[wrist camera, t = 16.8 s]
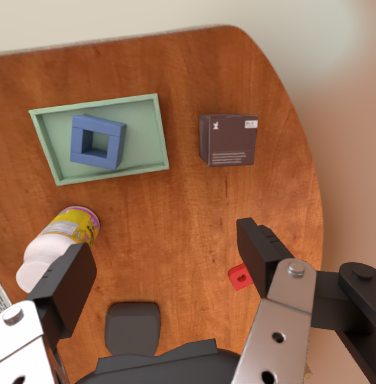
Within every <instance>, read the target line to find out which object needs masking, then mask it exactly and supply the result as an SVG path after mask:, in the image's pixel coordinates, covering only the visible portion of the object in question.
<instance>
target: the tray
mask: <svg viewBox="0 0 376 384" xmlns="http://www.w3.org/2000/svg"><path fill="white" fill-rule="evenodd" d="M29 113H30V115H31V118H32V121H33V123H34V126H35V129H36V131H37V134H38V137H39V139H40V142H41V145H42V147H43V150H44V153H45V155H46V158H47V161H48V163H49V166H50V169H51V172H52V174H53V177H54V180H55V182H56V185H57V186H60V185H67V184H73V183H80V182H86V181H93V180H99V179H106V178H113V177H119V176H126V175H132V174H139V173H145V172H152V171H159V170H165V169H169V163H168V157H167V150H166V144H165V138H164V132H163V126H162V120H161V114H160V107H159V101H158V95H157V93H156V94H149V95H141V96H134V97H126V98H118V99H111V100H103V101H96V102H88V103H81V104H73V105H65V106H58V107H50V108H43V109H35V110H29ZM85 114H86V115H90V116H94V117H98V118H103V119H107V120H111V121H115V122H120V123H124V124H127V127H126V133H125V141H124V148H123V154H122V162H121V163H120V165H119V166H118V168H117V169H116V170H111V169H106V168H100V167H95V166H90V165H85V164H80V163H75V162H70V152H71V151H70V149H71V132H72V116H75V115H85ZM108 141H109V135H107V134H102V133H98V132H93V141H92V148H96V149H101V150H105V151H107V150H108Z"/></svg>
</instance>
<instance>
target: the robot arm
mask: <svg viewBox="0 0 376 384" xmlns="http://www.w3.org/2000/svg"><path fill="white" fill-rule="evenodd" d="M236 224H237V245H238V250H239V254H240V256H241V258H242V260H243V262H244V264H245V266H246V268H247V270H248V272H249V274H250V276H251V278H252V280H253V282H254V285H255V287H256V289H257V291H258V293H259V295H260V297H261V302H260V305H259V307H258V310H257V313H256V316H255V318H254V321H253V324H252V327H251V329H250V332H249V335H248V338H247V340H246V343H245V346H244V349H243V351H242V354H241V355H239V354H237V353H234V352H232V351H229V350H225V349H219V348H217V345H216V340H215V338H214V339H208V340H202V341H196V342H191V343H186V344H184V345H182V346H180V347H177V348H175V349H173V350H171V351H169V352H166V353H164V354H162V355H160V356H146V355H137V354H128V353H127V354H121V355H116V356H110V357H104V358H99V359H98V363H97V366H96V370H95V371H93V372H91V373H90V374H88V375H86V376H84V377H83V378H82V379H80V380H79V381H77V382H76V383H75V384H303V383H304V375H305V367H306V359H307V350H308V342H309V334H310V333H309V332H310V327H314V328H321V329H328V330H335V332H336V333H337V335H338V336H339V338H340V339H341V341H342V342H343V344H344V345H345V347H346V348H347V350H348V351H349V353H350V354H351V355H352V357H353V358H354V360H355V361H356V363H357V364H358V366H359V367H360V369H361V370H362V372H363V373H364V375H365V376H366V377H367V379H368V381H369V382H370V384H376V269H375V268H373V267H371V266H368V265H365V264H362V263H356V262H348V263H344V264H342V265H341V266H340V269H339V273H336V272H324V271H316V270H315V269H314V267H313V266H312V265H311V264H309V263H307V262H306V261H303V260H300V259H296V258H294V256H293V255H292V254H291V253H290V252H289V251H288V249H287V248H286V247H285V246H284V245H283V243H282V242H280V240H279V239H278V238H277V236H276V235H275V234H274V233H273V232H272V230H271V229H269V228H267V227H265V226H264V225H259V226H257V224H256V223H255V222H254V220H253V219H252V218H251V217H250V218H243V219H237V222H236ZM96 274H97V268H96V264H95V261H94V258H93V255H92V252H91V250H90V247H89V244H88V243H87V242H83V243H77V244H71V245H70V246H69V247H68V249H67V250H66V252H65V253H64V254H63V255H61V256H60V257H58V258H57V259H56V260H55V261H54V262H52V263H51V265H50V266H49V267H48V269H47V270H46V272H45V273H44V274H43V276H42V277H41V279H40V280H39V281H38V282H37V284H36V285H35V286H34V288H33V289H32V291H31V292H30V293H29V295H28V296H27V297H26V299H25V300H24V301H21V302H18V303H16V304H14V305H12V306H10V307H8V308H7V309H5V310H4V311H3V312H1V313H0V384H70V382H69V379H68V376H67V373H66V370H65V367H64V364H63V361H62V358H61V356H60V353H59V350H58V348H57V343H58V341H59V339H64V338H70V337H71V336H72V334H73V331H74V329H75V327H76V324H77V322H78V319H79V317H80V315H81V312H82V310H83V307H84V305H85V303H86V300H87V298H88V295H89V293H90V291H91V288H92V286H93V283H94V281H95V278H96Z"/></svg>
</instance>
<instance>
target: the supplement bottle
mask: <svg viewBox="0 0 376 384" xmlns="http://www.w3.org/2000/svg"><path fill="white" fill-rule="evenodd" d="M99 229H100V223H99V220H98V218H97V216H96V215H95V214H94V213H93V212H92V211H91V210H89V209H87V208H85V207H80V206H73V207H68V208H66V209H64V210H63V211H61V212H60V213H59V214H58V215H57V216H56V217H55V218H54V219H53V220H52V221H51V222H50V223H49V225H48V226H47V227H46V228H45V229H44V230H43V231H42V232H41V233H40V234H39V235H38V236H37V237H36V238H35V239H34V240H33V241H32V242H31V243H30V244H29V245H28V247H27V248H26V251H25V253H24V264H23V265H22V266H21V267H20V269H19V270H18V272H17V275H16V280H17V283H18V285H19V286H20V287H21V288H22V289H23V290H24V291H25V292H27V293H30V292H31V291H32V289H33V288H34V286H35V285H36V284H37V282H38V281H39V280H40V279H41V277H42V276H43V274H44V273H45V272H46V270H47V269H48V267H49V266H50V265H51V263H52V262H54V261H55V260H56V259H57V258H58V257H60V256H61V255H63V254H64V253H65V252H66V250H67V249H68V247H69V246H70V245H71V244H77V243H83V242H87V243H88V244H89V247H90V249H91V246H92V245H93V243H94V241H95V239H96V237H97V235H98V232H99Z"/></svg>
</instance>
